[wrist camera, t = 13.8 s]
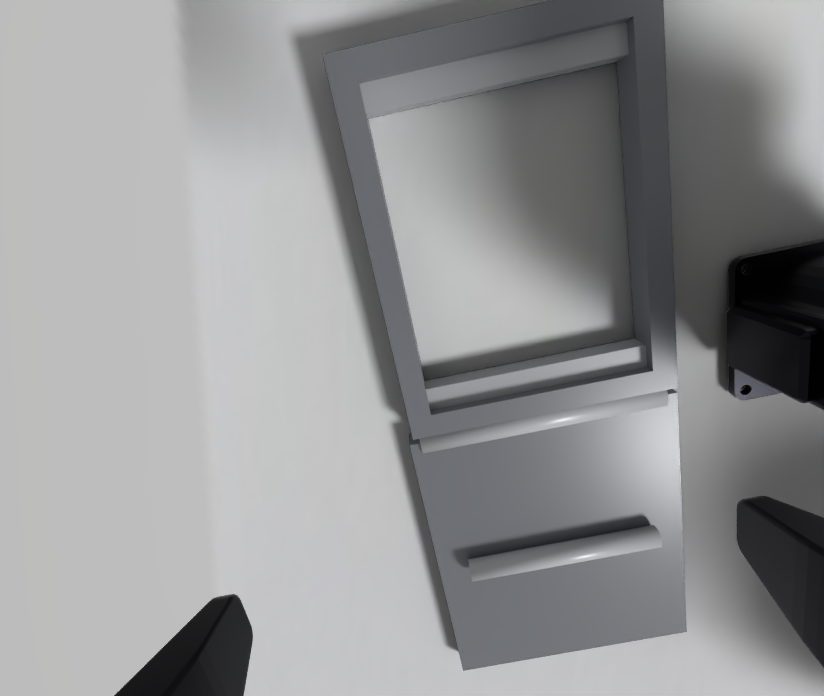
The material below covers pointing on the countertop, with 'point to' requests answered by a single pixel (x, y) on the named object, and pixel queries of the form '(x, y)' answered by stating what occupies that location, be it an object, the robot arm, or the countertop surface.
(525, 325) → the countertop surface
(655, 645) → the countertop surface
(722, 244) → the countertop surface
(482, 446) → the grey flat frame
